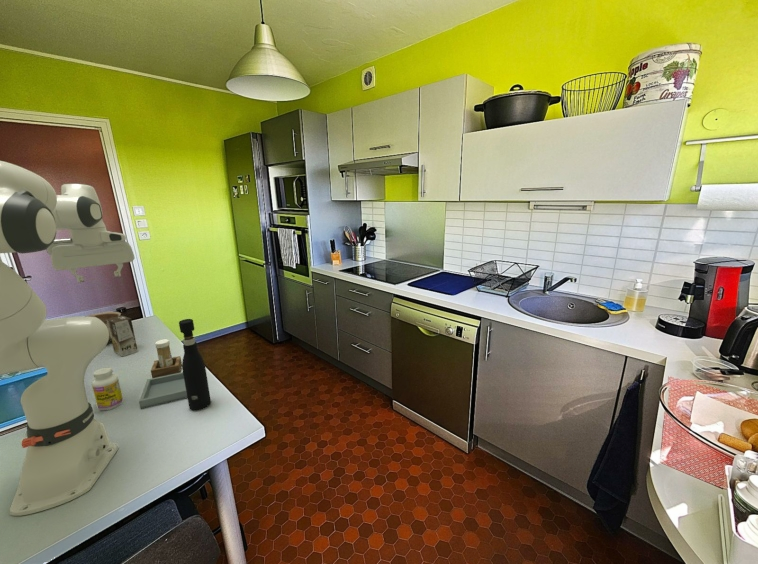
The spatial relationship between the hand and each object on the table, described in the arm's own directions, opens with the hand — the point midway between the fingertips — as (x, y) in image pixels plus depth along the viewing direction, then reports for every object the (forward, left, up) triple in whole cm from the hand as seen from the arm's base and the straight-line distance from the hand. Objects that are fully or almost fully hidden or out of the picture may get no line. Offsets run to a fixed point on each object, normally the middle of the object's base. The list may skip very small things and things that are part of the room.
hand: (100, 279), depth 106 cm
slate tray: (-8, -14, -42) cm, 45 cm away
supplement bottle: (-8, +3, -42) cm, 43 cm away
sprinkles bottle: (+9, -12, -42) cm, 44 cm away
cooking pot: (+59, +21, -42) cm, 75 cm away
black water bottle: (-22, -24, -42) cm, 53 cm away
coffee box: (+39, +8, -42) cm, 58 cm away
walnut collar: (+9, -12, -42) cm, 44 cm away
